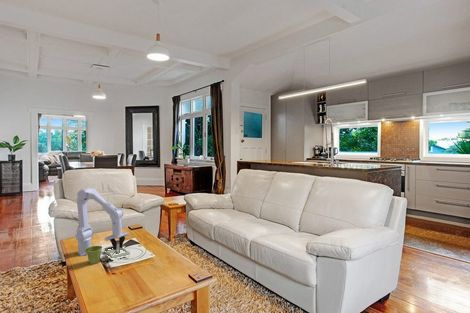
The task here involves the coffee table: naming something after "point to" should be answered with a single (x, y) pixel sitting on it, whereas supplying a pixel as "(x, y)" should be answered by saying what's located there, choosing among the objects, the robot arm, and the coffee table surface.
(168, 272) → the coffee table surface
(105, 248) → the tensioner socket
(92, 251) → the plant pot
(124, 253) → the tray
